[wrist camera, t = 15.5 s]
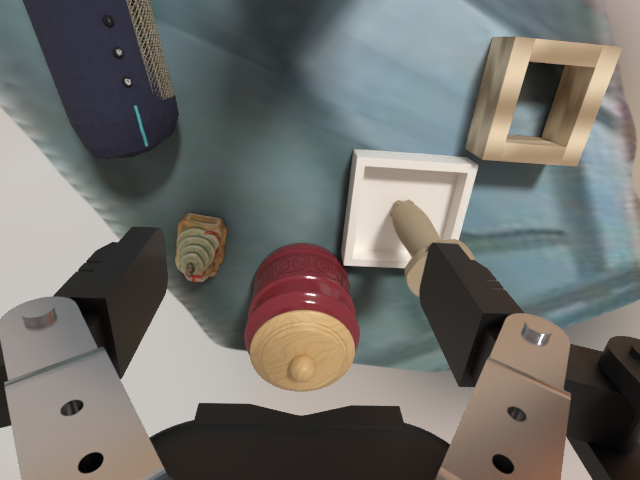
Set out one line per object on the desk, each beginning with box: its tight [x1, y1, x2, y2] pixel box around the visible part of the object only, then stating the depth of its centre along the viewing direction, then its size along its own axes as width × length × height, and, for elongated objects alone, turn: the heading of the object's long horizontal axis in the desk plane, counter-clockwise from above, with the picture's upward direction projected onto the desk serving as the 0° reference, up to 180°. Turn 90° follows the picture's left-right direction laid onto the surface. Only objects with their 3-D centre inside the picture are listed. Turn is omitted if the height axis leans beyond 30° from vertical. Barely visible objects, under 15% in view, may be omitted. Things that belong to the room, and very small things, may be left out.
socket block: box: [465, 37, 622, 166], centre depth 43 cm, size 12×11×5 cm
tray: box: [341, 149, 479, 268], centre depth 49 cm, size 14×14×4 cm
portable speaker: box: [23, 0, 179, 159], centre depth 35 cm, size 25×10×10 cm, turn 6°
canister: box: [245, 243, 360, 391], centre depth 47 cm, size 13×13×18 cm
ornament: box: [175, 213, 227, 282], centre depth 47 cm, size 8×6×10 cm
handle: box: [390, 200, 475, 296], centre depth 43 cm, size 5×6×15 cm
